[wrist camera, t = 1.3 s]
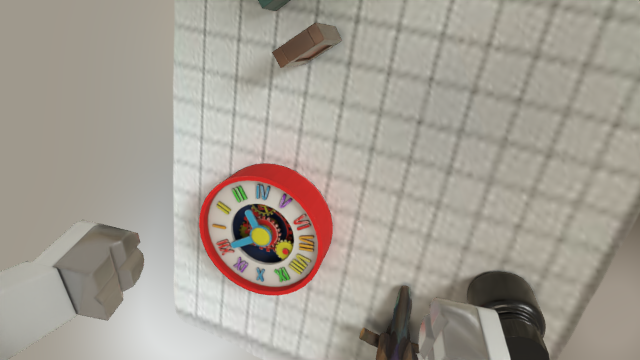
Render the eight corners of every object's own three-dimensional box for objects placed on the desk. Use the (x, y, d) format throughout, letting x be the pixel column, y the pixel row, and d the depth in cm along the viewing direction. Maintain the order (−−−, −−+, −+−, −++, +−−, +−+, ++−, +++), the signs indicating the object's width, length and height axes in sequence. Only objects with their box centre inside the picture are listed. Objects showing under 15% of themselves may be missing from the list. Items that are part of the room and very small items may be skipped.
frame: (342, 40, 47) (324, 39, 39) (304, 64, 50) (280, 68, 42) (335, 26, 47) (315, 22, 39) (297, 51, 49) (271, 52, 41)
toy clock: (345, 279, 53) (237, 306, 60) (352, 258, 58) (252, 285, 66) (284, 155, 49) (176, 200, 56) (298, 144, 54) (198, 187, 62)
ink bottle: (467, 320, 56) (476, 386, 45) (460, 271, 54) (468, 328, 43) (538, 320, 53) (566, 391, 42) (534, 267, 51) (563, 328, 40)
